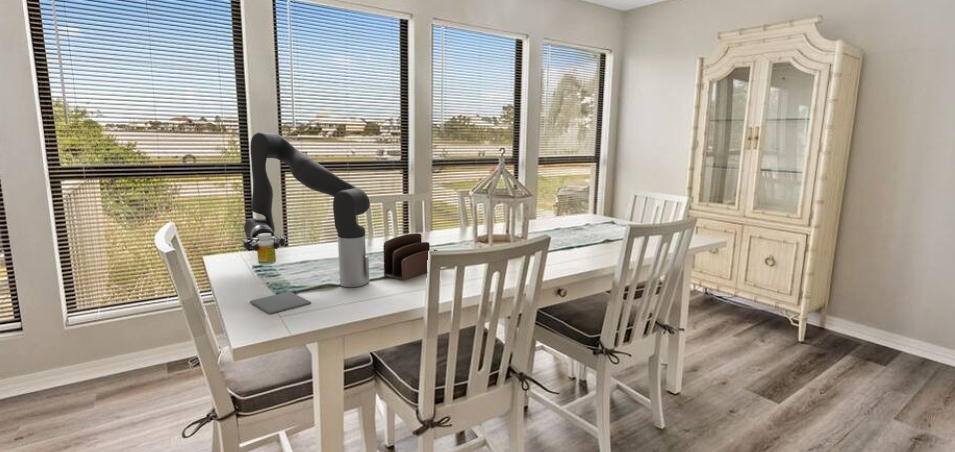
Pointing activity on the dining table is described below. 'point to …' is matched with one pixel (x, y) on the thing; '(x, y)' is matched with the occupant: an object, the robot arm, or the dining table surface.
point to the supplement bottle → (266, 249)
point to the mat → (280, 302)
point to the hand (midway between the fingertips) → (266, 246)
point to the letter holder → (405, 256)
